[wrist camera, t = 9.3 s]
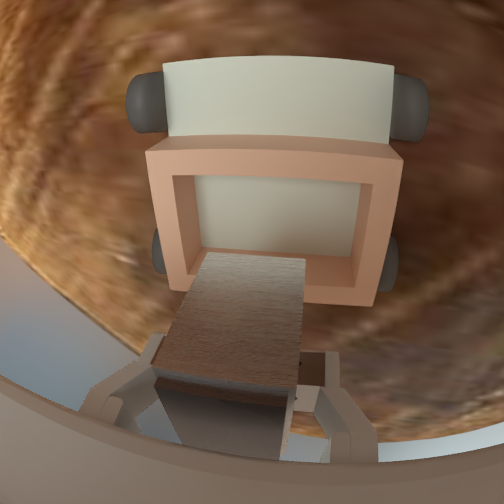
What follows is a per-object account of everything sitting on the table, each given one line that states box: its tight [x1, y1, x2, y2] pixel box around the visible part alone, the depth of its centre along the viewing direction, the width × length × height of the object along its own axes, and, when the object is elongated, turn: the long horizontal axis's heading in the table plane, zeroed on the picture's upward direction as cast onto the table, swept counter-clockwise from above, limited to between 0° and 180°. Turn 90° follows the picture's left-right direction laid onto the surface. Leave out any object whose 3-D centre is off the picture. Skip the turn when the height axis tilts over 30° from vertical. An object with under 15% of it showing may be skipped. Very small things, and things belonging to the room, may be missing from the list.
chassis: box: [126, 56, 429, 307], centre depth 19 cm, size 16×17×5 cm
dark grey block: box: [152, 252, 306, 460], centre depth 12 cm, size 5×4×6 cm
